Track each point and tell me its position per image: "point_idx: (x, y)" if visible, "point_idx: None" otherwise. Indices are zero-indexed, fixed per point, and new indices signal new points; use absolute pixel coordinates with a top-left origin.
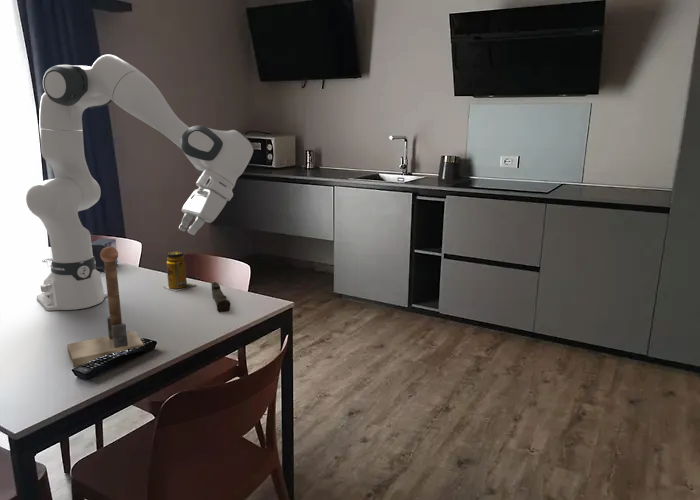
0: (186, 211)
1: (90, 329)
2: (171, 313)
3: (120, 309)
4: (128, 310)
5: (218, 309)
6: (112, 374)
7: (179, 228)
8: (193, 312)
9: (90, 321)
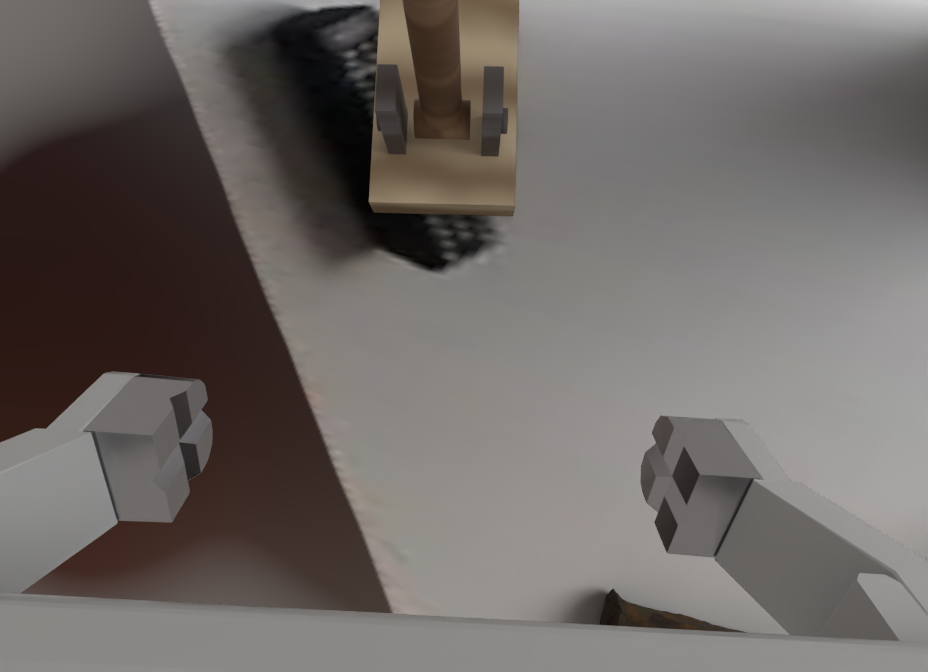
0: (820, 647)
1: (688, 104)
2: (705, 408)
3: (426, 77)
4: (836, 266)
5: (609, 596)
6: (263, 93)
7: (677, 417)
8: None
9: (776, 118)
